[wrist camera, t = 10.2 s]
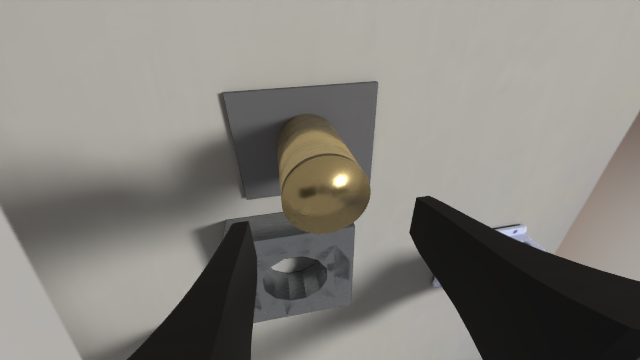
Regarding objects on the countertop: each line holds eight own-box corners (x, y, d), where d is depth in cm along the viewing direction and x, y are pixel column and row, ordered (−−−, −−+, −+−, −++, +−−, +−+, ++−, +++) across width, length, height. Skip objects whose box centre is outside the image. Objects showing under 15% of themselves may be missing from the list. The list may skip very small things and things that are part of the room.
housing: (344, 203, 22) (354, 226, 20) (343, 278, 28) (351, 304, 25) (226, 220, 21) (220, 246, 18) (248, 295, 26) (246, 324, 24)
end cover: (337, 111, 18) (373, 154, 12) (337, 167, 20) (367, 227, 14) (272, 116, 17) (276, 164, 11) (280, 174, 19) (286, 239, 13)
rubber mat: (376, 81, 17) (378, 82, 17) (368, 181, 22) (369, 183, 21) (223, 92, 16) (222, 93, 16) (247, 196, 20) (246, 199, 20)
